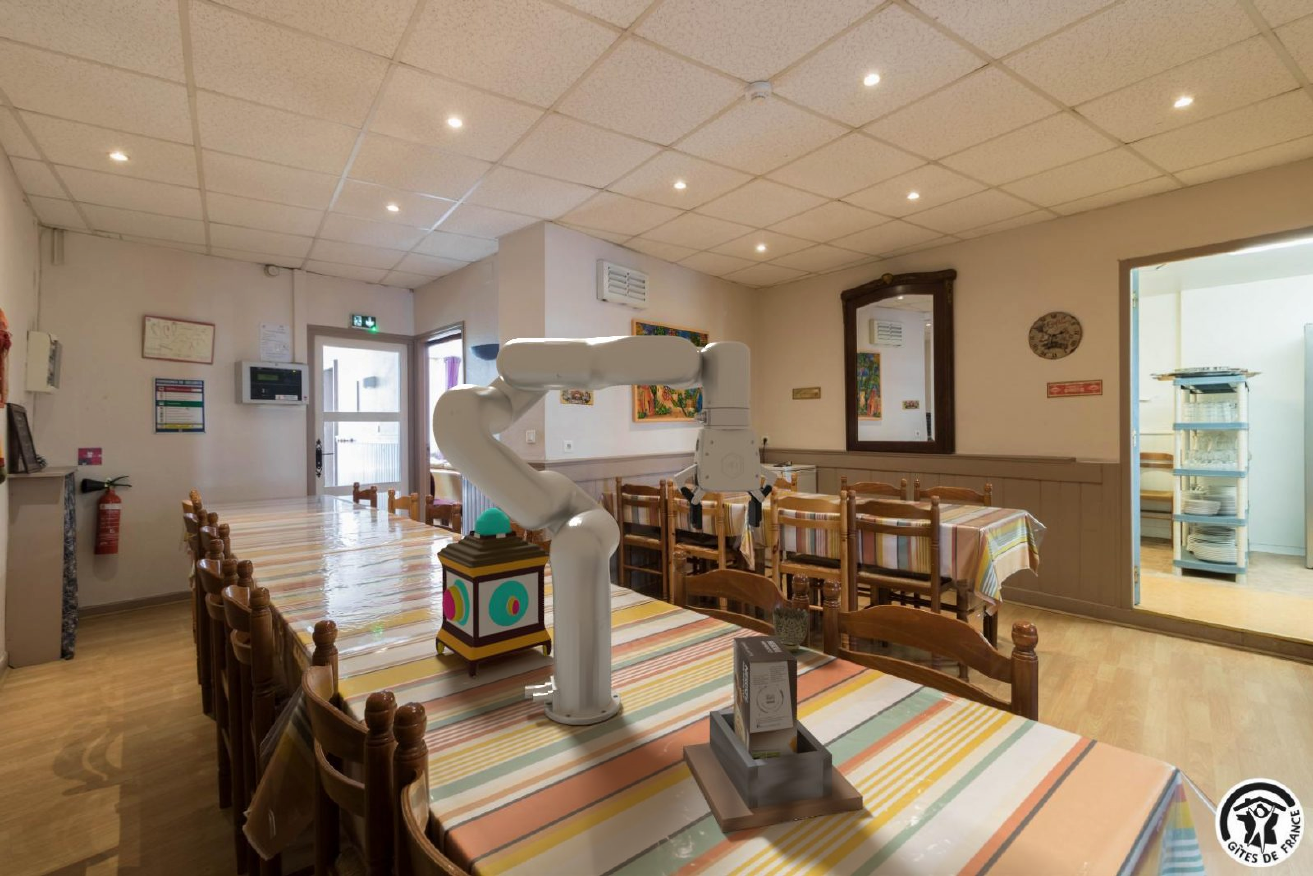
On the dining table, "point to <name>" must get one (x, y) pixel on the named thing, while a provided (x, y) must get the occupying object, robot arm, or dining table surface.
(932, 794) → the dining table surface
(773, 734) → the coffee box
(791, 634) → the cup
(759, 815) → the post socket
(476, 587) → the decorative lantern
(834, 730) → the dining table surface
